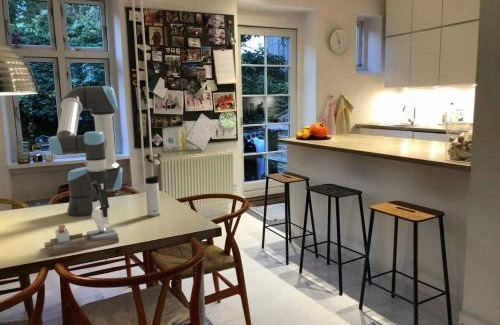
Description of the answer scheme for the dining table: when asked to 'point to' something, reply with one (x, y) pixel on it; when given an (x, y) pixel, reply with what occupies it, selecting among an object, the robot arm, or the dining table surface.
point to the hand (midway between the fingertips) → (101, 220)
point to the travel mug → (152, 196)
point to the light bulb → (98, 219)
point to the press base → (82, 242)
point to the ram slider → (62, 235)
